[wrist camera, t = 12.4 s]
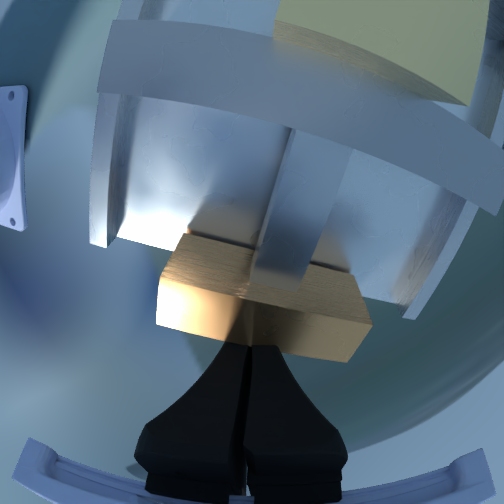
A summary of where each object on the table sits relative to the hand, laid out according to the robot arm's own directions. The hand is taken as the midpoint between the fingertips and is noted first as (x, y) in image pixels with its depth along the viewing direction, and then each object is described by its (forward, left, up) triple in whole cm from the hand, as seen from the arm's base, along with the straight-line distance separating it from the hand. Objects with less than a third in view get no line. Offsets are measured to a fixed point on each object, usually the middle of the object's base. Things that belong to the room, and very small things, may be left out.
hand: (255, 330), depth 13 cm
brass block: (0, +13, -1) cm, 13 cm away
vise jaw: (0, +6, -1) cm, 6 cm away
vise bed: (0, +11, -2) cm, 12 cm away
